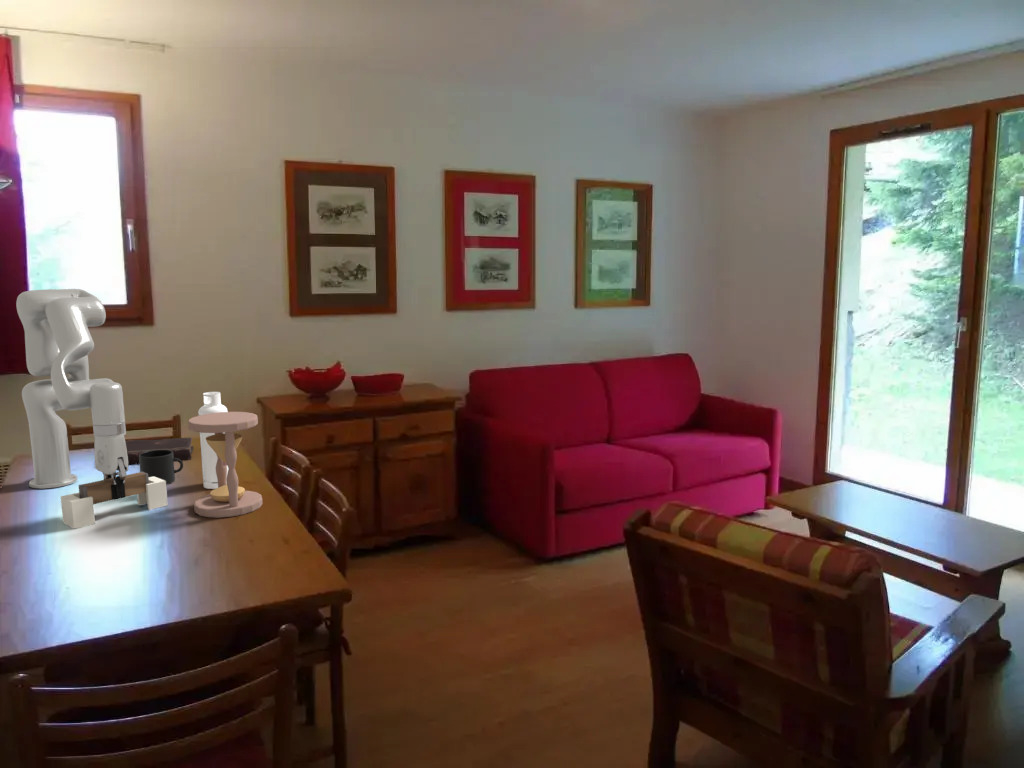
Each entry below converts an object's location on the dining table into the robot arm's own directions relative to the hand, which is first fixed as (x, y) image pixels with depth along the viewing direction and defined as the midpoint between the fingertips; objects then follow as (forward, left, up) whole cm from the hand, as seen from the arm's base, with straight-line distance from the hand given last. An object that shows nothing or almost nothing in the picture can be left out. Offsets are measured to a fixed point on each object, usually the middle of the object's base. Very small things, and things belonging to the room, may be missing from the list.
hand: (115, 496), depth 204 cm
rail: (0, 0, 0) cm, 0 cm away
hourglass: (+18, +22, -5) cm, 29 cm away
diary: (-52, +34, -6) cm, 63 cm away
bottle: (-4, +31, -5) cm, 32 cm away
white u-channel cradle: (0, 0, -5) cm, 5 cm away
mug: (-20, +22, -5) cm, 30 cm away
